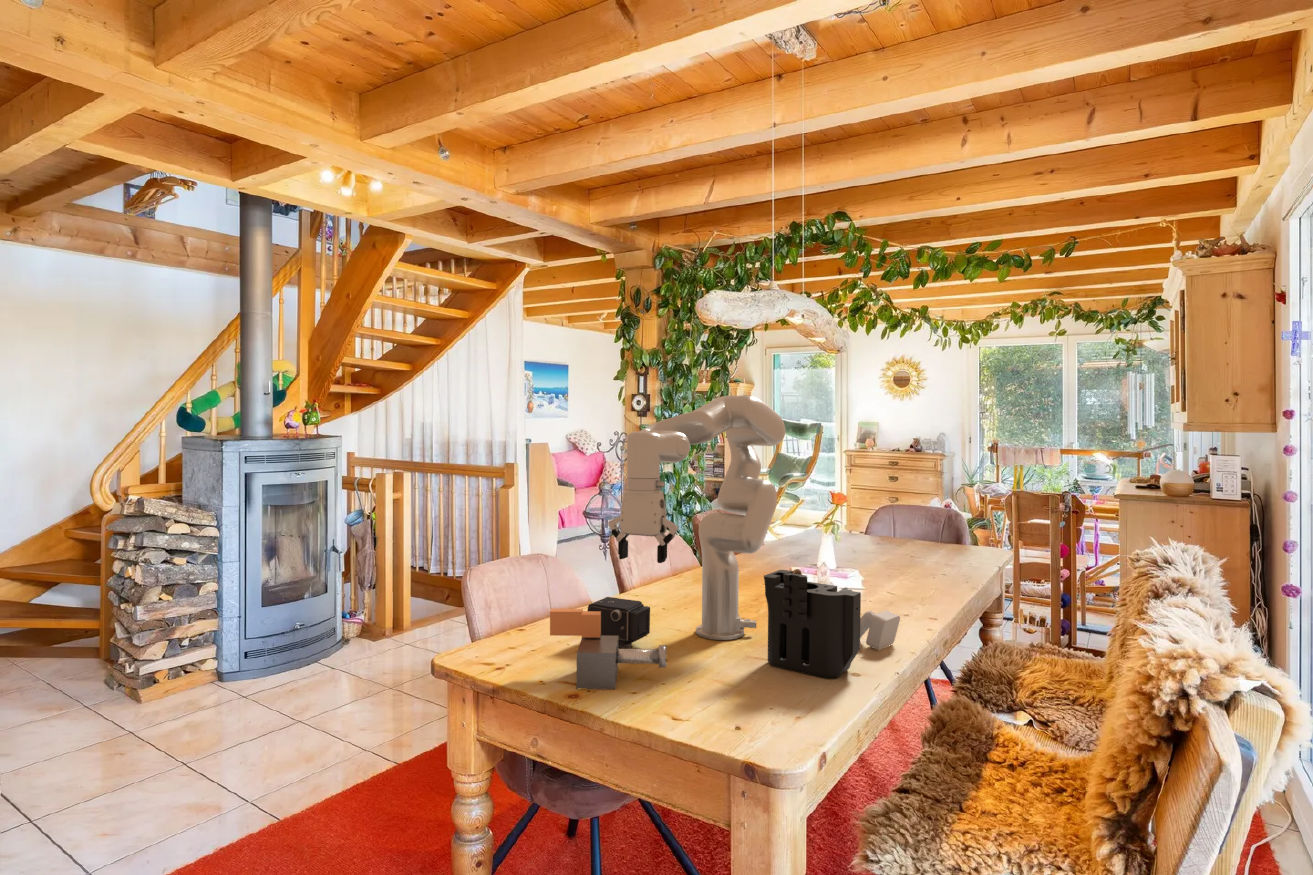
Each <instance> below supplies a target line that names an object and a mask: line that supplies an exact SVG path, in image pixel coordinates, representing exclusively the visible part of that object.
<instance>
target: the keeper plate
mask: <svg viewBox="0 0 1313 875" xmlns="http://www.w3.org/2000/svg"><path fill="white" fill-rule="evenodd" d="M600 635H601V611H588V610H587V611H584V610H583V608H551V609H550V611H549V636H555V637H556V636H560V637H562V636H565V637H567V636H569V637H570V636H571V637H572V636H573V637H575V636H576V637H579V636H580V637H581V638H582V637H585V638H600Z"/></svg>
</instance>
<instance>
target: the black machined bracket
mask: <svg viewBox="0 0 1313 875" xmlns="http://www.w3.org/2000/svg"><path fill="white" fill-rule="evenodd" d="M763 582H764V595H765V599H766V603H767V605H766V606H767V662H768V664H769V665H771V666H772V667H775V668H780V669H784V670H788V671H793V672H797V673H801V674H806V675H810V676H815V677H819V678H822V679H823V678H824V679H827V680H828V679H829V680H831V679H833V680H834V679H836V678H838V677H840V676H841V675H842V674H844V673H845V672H846V671H848V670H849V669H850V667H851V664H852V663H853V661H854V659H855V658H856V656H857V655H858V653H859V651H860V650H861V638H860V618H861V610H862V609H861V602H862V600H861V598H862V595H861V594H862V593H861V592H860V591H854V590H852V589H849V588H848V587H847V586H846V587H843V588H842V589H840V590H838V585H835V584H828V583H826V584H825V583H820V582H812V581H808V576H807V575H803V574H798V573H794V572H793V570H789V569H788V570H787V569H778V570H776V571H773V572H772V571H771V572H770V573H767V574H764V575H763ZM805 662H808V664H806V663H805Z"/></svg>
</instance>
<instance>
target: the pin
mask: <svg viewBox="0 0 1313 875" xmlns="http://www.w3.org/2000/svg"><path fill="white" fill-rule="evenodd" d="M616 663H618V664H649V665H650V664H654V665H655V664H658V668H662V669H663V668H667V645H665V644H664V645H663V644H659V645H658V648H618V649H617V650H616Z"/></svg>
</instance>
